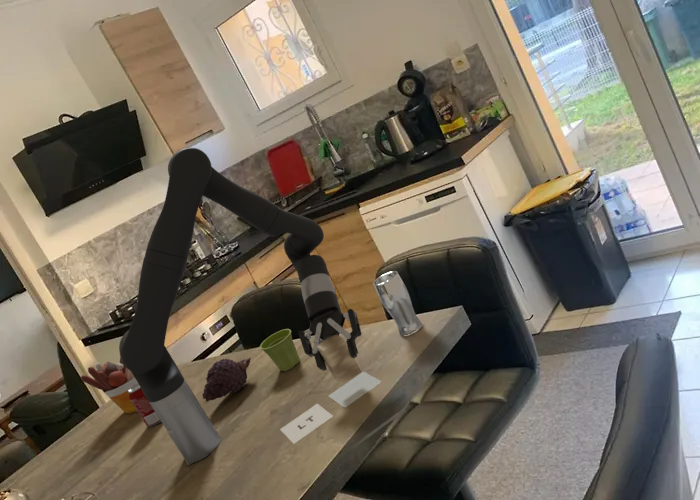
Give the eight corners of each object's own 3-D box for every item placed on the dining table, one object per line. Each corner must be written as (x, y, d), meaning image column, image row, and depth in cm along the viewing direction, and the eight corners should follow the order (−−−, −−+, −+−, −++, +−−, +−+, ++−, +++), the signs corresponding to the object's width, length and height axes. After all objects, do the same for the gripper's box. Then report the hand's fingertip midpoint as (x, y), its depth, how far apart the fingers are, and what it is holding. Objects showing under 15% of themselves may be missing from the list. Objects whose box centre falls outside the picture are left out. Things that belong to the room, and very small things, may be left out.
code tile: (294, 445, 137) (293, 443, 137) (280, 430, 147) (279, 429, 147) (334, 417, 140) (333, 415, 140) (318, 404, 150) (317, 403, 150)
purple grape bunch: (222, 413, 172) (203, 382, 169) (201, 413, 178) (182, 383, 176) (266, 372, 184) (249, 342, 181) (245, 374, 191) (228, 345, 188)
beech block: (343, 384, 144) (323, 350, 141) (334, 379, 148) (316, 346, 146) (361, 371, 145) (342, 337, 143) (352, 366, 150) (334, 333, 148)
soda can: (163, 423, 185) (140, 388, 182) (143, 431, 187) (121, 396, 184) (172, 410, 192) (151, 376, 189) (154, 417, 193) (132, 383, 191)
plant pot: (304, 365, 175) (289, 338, 173) (273, 380, 176) (257, 352, 174) (306, 351, 184) (292, 324, 182) (276, 365, 185) (261, 339, 183)
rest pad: (345, 409, 141) (344, 407, 141) (328, 397, 151) (328, 395, 151) (382, 383, 144) (382, 381, 144) (364, 372, 154) (363, 371, 154)
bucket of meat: (144, 389, 223) (113, 340, 218) (177, 381, 214) (145, 330, 210) (103, 427, 207) (68, 375, 202) (136, 420, 198) (101, 365, 193)
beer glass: (423, 318, 166) (398, 267, 163) (425, 330, 160) (398, 276, 156) (398, 329, 168) (372, 279, 164) (398, 341, 161) (371, 288, 157)
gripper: (285, 305, 151) (302, 371, 142) (341, 279, 148) (362, 346, 140) (299, 315, 157) (316, 379, 149) (353, 291, 154) (374, 355, 146)
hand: (338, 363), depth 144 cm, fingers closed on beech block, 7 cm apart
